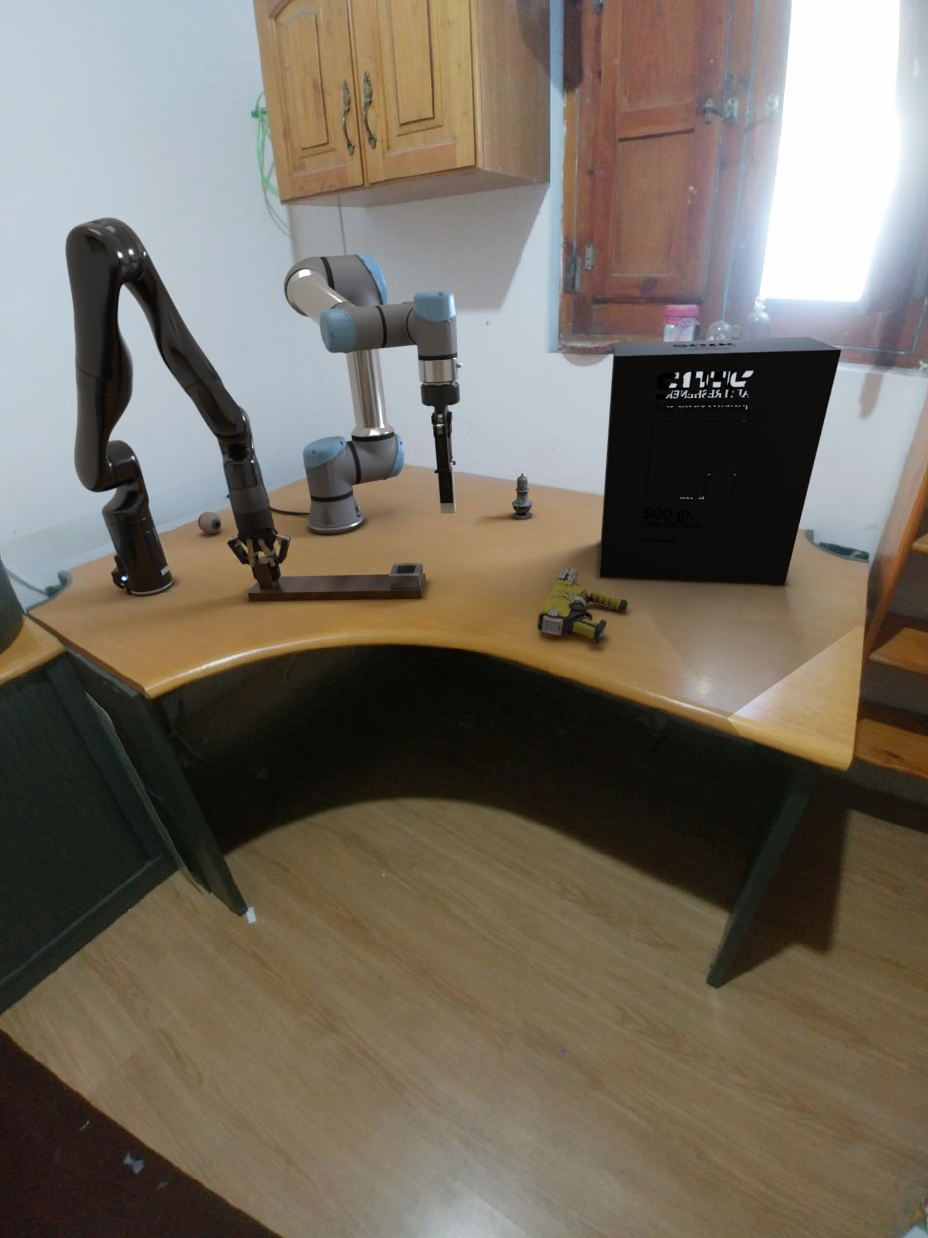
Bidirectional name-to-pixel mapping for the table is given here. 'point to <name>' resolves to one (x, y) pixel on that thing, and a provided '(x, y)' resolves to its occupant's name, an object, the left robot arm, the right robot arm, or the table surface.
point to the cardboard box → (711, 457)
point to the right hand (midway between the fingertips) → (447, 499)
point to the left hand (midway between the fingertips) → (268, 579)
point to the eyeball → (209, 522)
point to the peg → (451, 506)
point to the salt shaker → (522, 499)
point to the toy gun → (574, 609)
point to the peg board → (339, 584)
